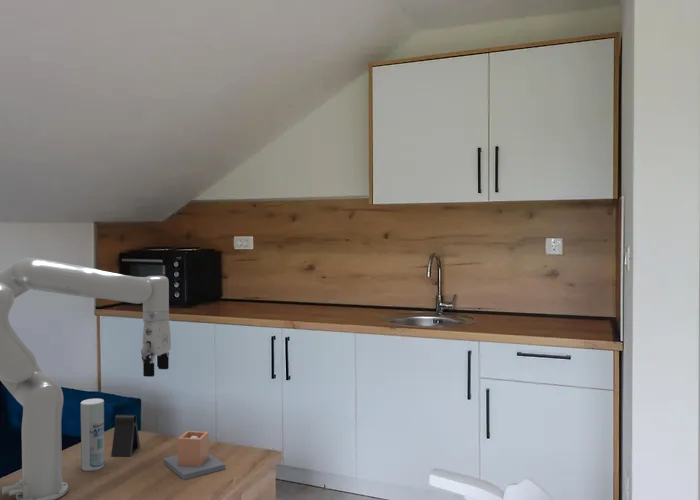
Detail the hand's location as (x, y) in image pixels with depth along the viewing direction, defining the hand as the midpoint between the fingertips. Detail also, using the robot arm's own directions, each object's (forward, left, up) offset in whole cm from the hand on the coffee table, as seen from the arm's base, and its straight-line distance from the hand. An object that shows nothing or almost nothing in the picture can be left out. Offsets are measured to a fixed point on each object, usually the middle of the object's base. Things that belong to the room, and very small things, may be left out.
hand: (156, 372), depth 182 cm
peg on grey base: (+9, -8, -28) cm, 31 cm away
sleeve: (+8, -8, -27) cm, 29 cm away
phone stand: (-4, +17, -29) cm, 34 cm away
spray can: (-16, +10, -28) cm, 34 cm away
